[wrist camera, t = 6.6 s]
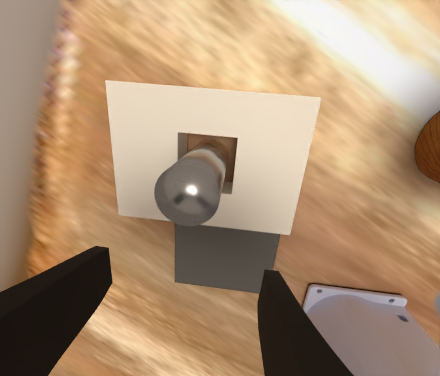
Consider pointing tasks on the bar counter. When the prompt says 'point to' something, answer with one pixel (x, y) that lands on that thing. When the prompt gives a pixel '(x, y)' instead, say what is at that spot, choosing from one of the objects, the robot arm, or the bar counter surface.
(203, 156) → the peg
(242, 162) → the block
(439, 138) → the disposable coffee cup
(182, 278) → the mat
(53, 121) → the bar counter surface
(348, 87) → the bar counter surface
